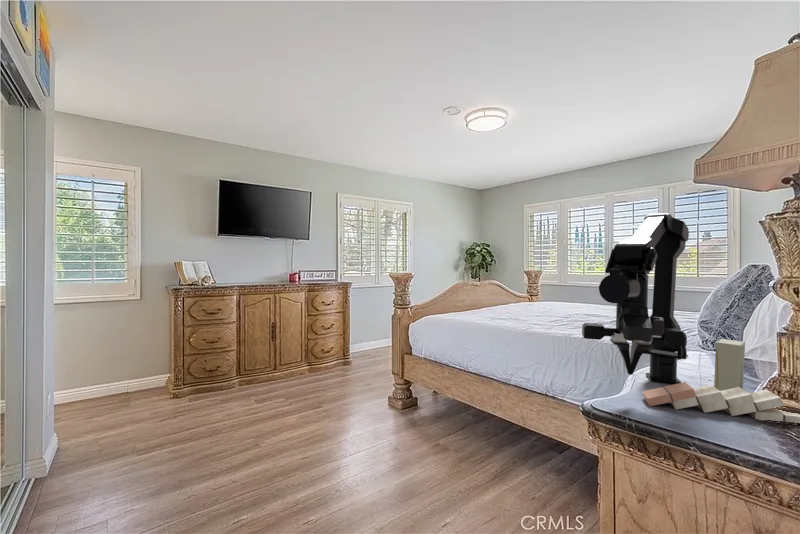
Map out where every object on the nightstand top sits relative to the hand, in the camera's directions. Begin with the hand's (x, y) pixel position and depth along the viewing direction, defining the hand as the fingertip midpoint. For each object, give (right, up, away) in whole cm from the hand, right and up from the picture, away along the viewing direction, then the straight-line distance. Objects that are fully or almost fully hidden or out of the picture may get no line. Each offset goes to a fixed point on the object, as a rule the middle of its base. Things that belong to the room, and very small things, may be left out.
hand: (630, 374), depth 86 cm
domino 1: (+3, -5, -1) cm, 6 cm away
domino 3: (+19, -5, -7) cm, 21 cm away
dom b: (+7, -5, -2) cm, 9 cm away
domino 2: (+12, -5, -4) cm, 13 cm away
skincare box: (+25, -6, +5) cm, 26 cm away
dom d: (+16, -5, -6) cm, 18 cm away
